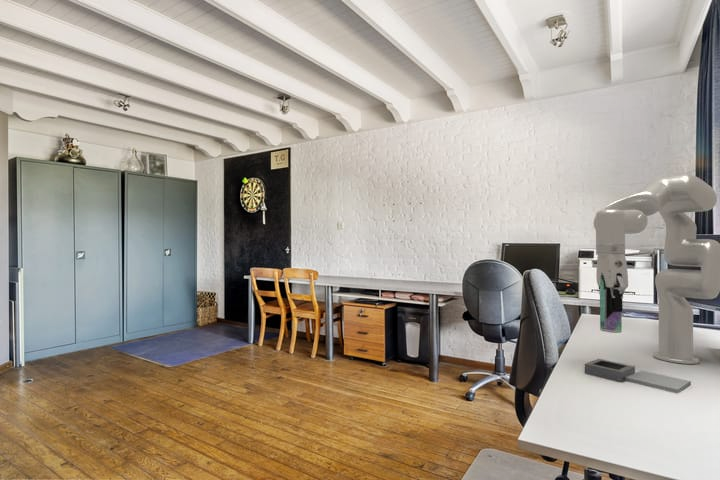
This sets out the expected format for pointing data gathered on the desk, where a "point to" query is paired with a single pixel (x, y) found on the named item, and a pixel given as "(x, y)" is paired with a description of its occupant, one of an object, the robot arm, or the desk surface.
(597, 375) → the grey square frame
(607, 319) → the spray can
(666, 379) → the mat
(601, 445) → the desk surface
